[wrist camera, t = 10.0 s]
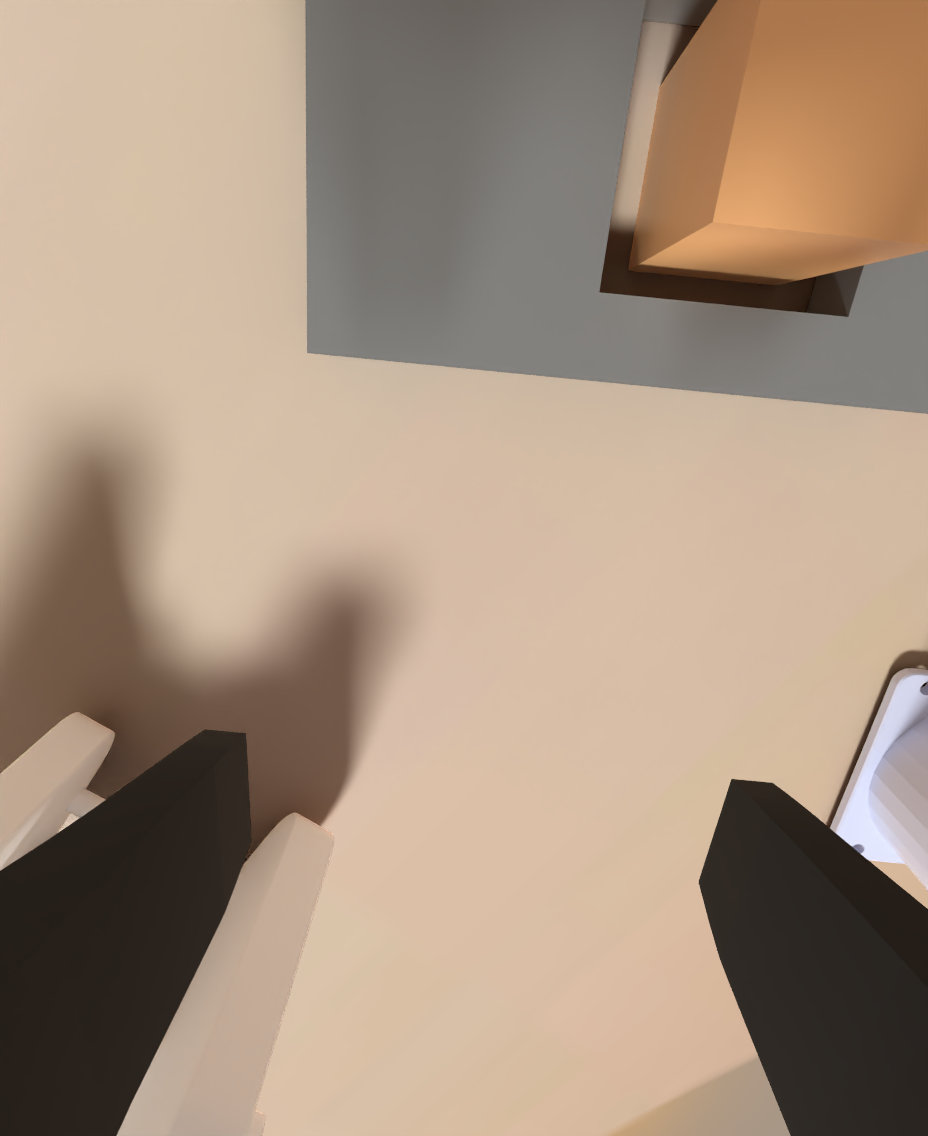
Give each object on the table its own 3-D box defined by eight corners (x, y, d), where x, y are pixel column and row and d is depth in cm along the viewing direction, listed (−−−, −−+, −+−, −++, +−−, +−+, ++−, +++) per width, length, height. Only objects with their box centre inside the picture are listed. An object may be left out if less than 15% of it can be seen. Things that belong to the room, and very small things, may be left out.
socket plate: (1088, -180, 12) (1200, -278, 10) (887, 407, 16) (939, 414, 14) (331, -259, 12) (303, -373, 10) (327, 353, 16) (307, 352, 14)
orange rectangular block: (823, 103, 14) (1055, -67, 8) (775, 285, 15) (945, 246, 10) (659, 86, 14) (781, -95, 8) (627, 270, 15) (712, 222, 10)
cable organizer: (109, 660, 20) (-333, 1027, 9) (361, 807, 22) (245, 1252, 11) (-34, 903, 24) (-447, 1344, 14) (186, 1006, 26) (-20, 1463, 16)
